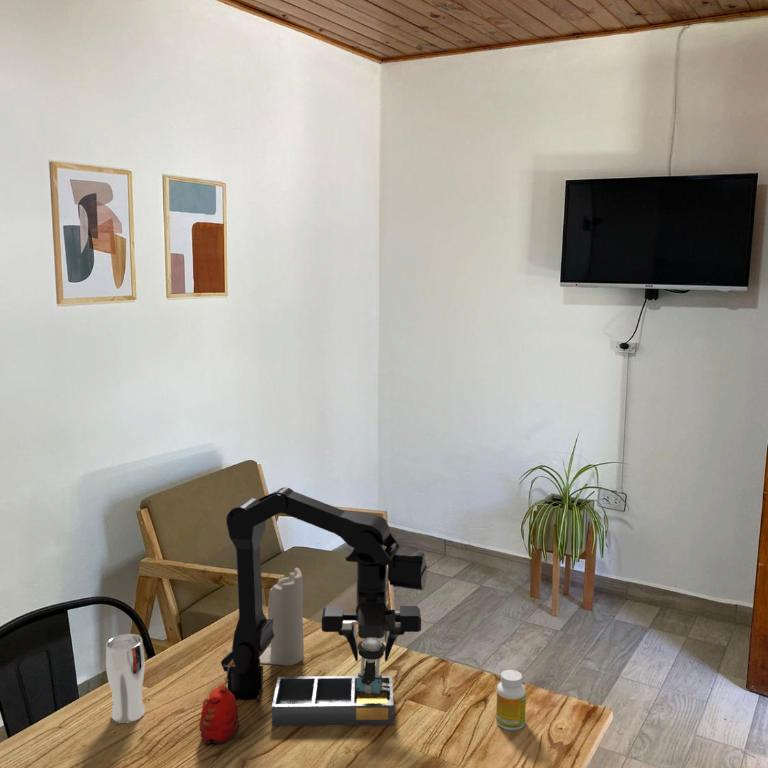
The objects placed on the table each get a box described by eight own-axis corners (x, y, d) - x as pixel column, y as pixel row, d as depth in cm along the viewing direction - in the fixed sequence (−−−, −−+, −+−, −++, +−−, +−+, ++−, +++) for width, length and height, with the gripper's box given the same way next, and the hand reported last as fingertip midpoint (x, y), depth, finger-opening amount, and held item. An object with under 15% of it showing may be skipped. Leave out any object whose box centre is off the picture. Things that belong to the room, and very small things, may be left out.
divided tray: (271, 727, 147) (271, 707, 146) (278, 695, 157) (278, 676, 157) (393, 725, 147) (393, 706, 146) (391, 694, 158) (392, 675, 157)
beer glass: (154, 709, 152) (151, 637, 150) (129, 729, 146) (125, 654, 144) (127, 701, 155) (123, 630, 153) (101, 720, 149) (96, 646, 147)
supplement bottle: (524, 732, 145) (526, 684, 143) (495, 729, 146) (496, 681, 144) (525, 716, 150) (526, 669, 149) (496, 713, 151) (497, 666, 150)
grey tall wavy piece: (247, 646, 177) (244, 562, 174) (307, 650, 175) (305, 565, 172) (237, 662, 170) (234, 575, 167) (299, 666, 168) (297, 578, 165)
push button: (390, 685, 154) (394, 637, 153) (387, 699, 149) (390, 650, 148) (357, 681, 155) (360, 633, 154) (352, 695, 150) (356, 646, 148)
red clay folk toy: (206, 723, 148) (204, 649, 146) (243, 724, 148) (241, 649, 145) (196, 748, 140) (192, 670, 138) (235, 748, 140) (232, 671, 138)
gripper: (319, 602, 140) (320, 682, 143) (423, 601, 141) (422, 682, 143) (323, 576, 151) (323, 652, 154) (419, 576, 152) (418, 652, 154)
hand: (371, 660), depth 151 cm, fingers closed on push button, 5 cm apart
